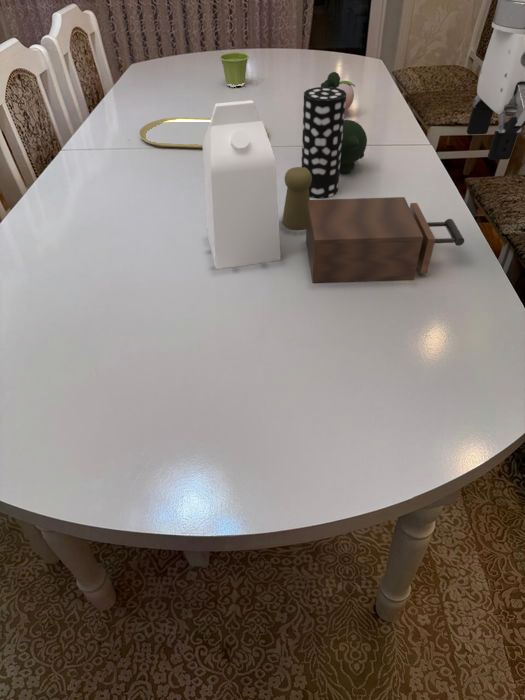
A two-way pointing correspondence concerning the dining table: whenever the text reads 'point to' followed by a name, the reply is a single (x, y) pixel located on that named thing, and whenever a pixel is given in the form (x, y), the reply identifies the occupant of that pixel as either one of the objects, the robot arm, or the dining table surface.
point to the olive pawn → (296, 198)
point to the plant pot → (234, 67)
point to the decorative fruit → (347, 92)
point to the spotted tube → (323, 138)
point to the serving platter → (170, 120)
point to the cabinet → (362, 240)
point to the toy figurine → (348, 134)
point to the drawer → (432, 236)
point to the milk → (240, 187)
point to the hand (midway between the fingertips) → (486, 145)
